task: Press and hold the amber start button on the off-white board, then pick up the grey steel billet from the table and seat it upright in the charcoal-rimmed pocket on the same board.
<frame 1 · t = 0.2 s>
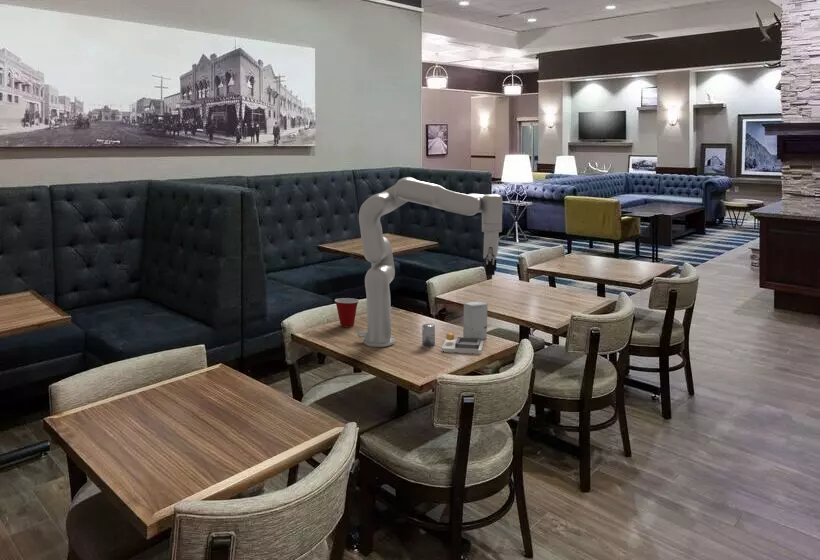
hand: (491, 272, 240), 30 cm above the table, tool pointing down, fingers open, 9 cm apart
steel billet: (428, 344, 251), on the table
plastic cup: (347, 325, 279), on the table
skincare box: (475, 338, 260), on the table
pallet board: (462, 348, 247), on the table
start button: (450, 336, 249), point 4 cm above the table, slide at 0.0 cm
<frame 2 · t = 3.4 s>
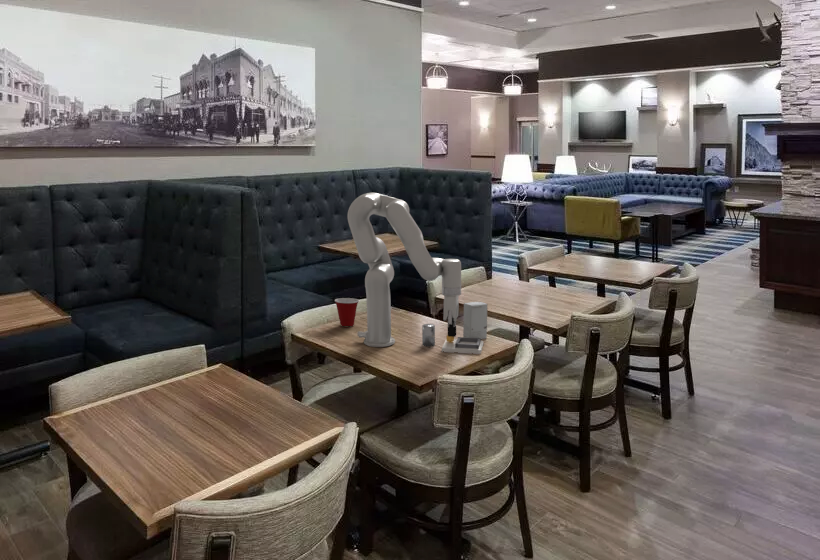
hand: (451, 335, 249), 4 cm above the table, tool pointing down, fingers closed
start button: (450, 338, 249), point 3 cm above the table, slide at 0.7 cm, touching gripper
everything else where it was.
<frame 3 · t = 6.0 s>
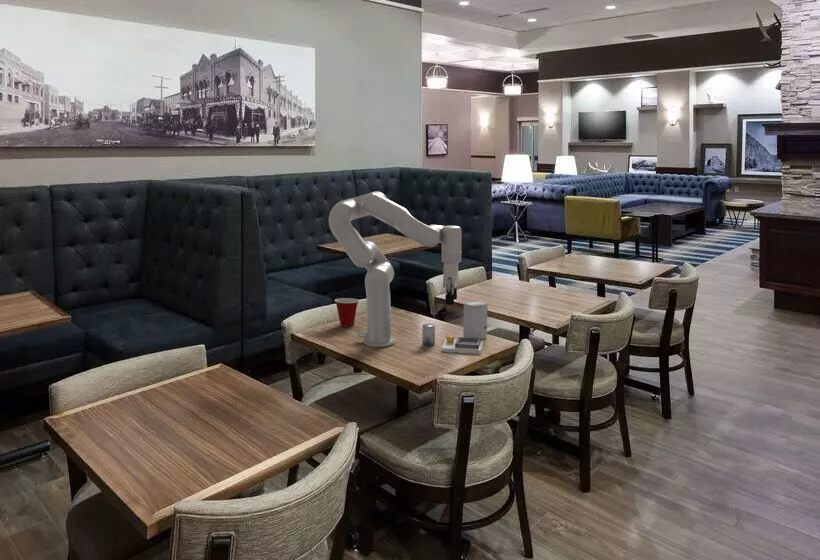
hand: (451, 301, 246), 18 cm above the table, tool pointing down, fingers open, 8 cm apart
start button: (450, 338, 249), point 3 cm above the table, slide at 1.0 cm
everything else where it was.
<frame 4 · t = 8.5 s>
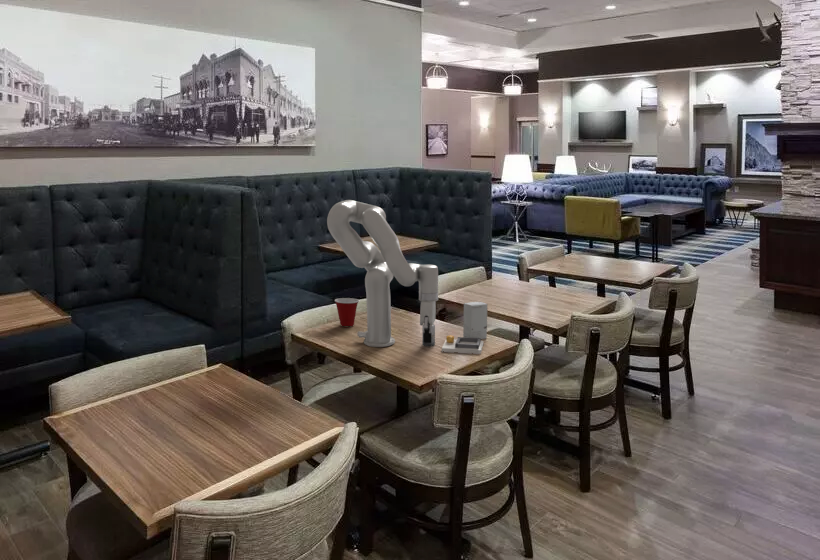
hand: (428, 340, 251), 2 cm above the table, tool pointing down, fingers closed on steel billet, 5 cm apart
steel billet: (428, 344, 251), on the table, touching gripper
everything else where it was.
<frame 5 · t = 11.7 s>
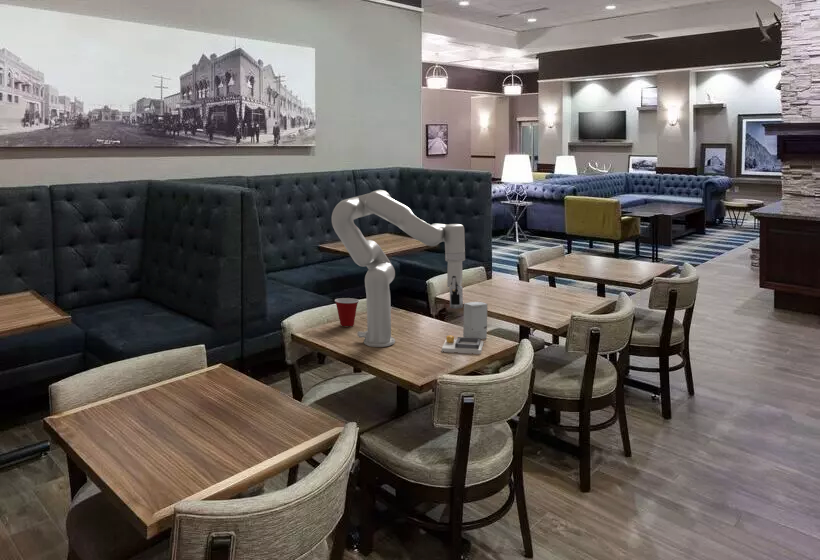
hand: (456, 302, 244), 18 cm above the table, tool pointing down, fingers closed on steel billet, 5 cm apart
steel billet: (456, 307, 245), point 16 cm above the table, touching gripper
everything else where it was.
when the fingers open (4 cm above the table, at t = 15.0 s): steel billet stays where it is, resting on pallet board.
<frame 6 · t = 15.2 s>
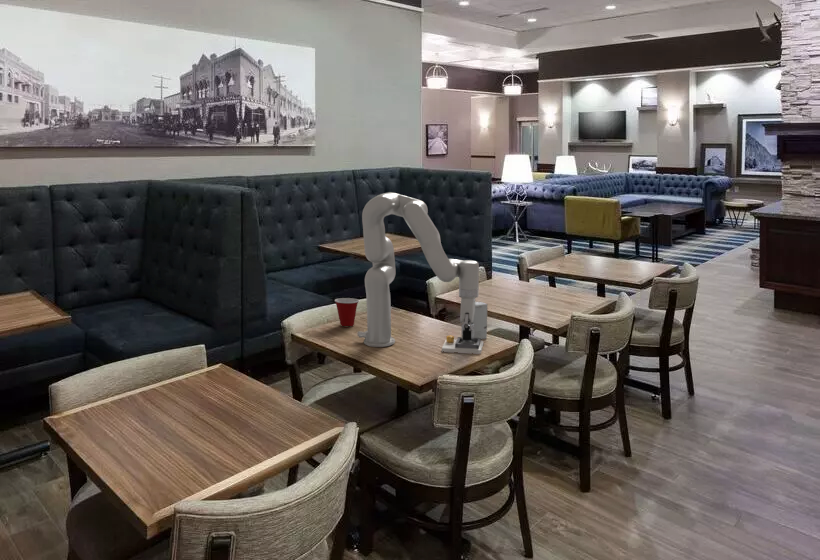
hand: (468, 336, 245), 5 cm above the table, tool pointing down, fingers open, 7 cm apart
steel billet: (467, 344, 246), point 2 cm above the table, touching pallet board
everything else where it was.
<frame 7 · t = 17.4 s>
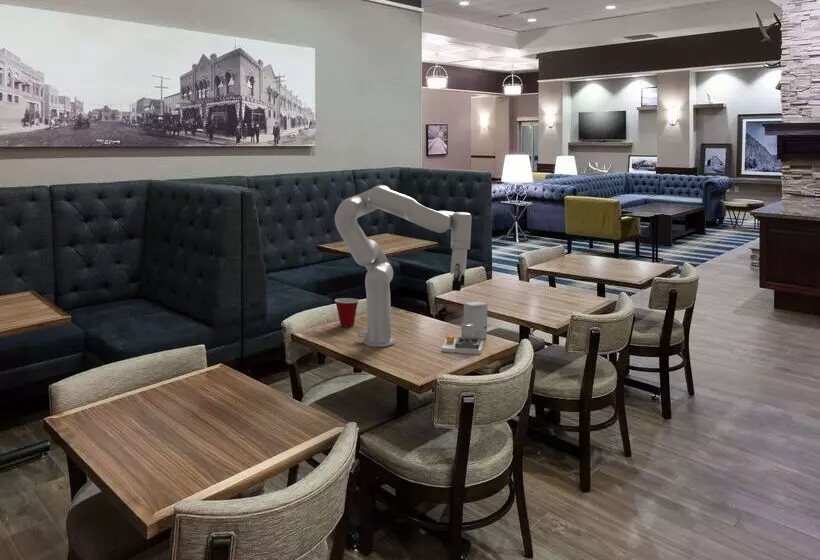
hand: (458, 287, 246), 23 cm above the table, tool pointing down, fingers open, 9 cm apart
nothing on the table moved.
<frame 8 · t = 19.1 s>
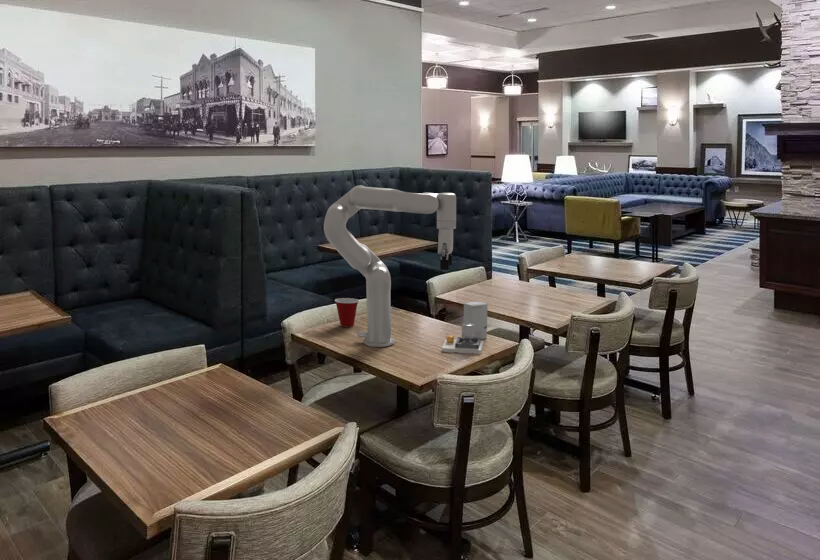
hand: (446, 267, 251), 30 cm above the table, tool pointing down, fingers open, 9 cm apart
nothing on the table moved.
at the end: steel billet 0.1 cm from the target spot on the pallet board, point 1.5 cm above the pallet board's base; steel billet tilted 1°; start button slide at 1.0 cm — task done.
